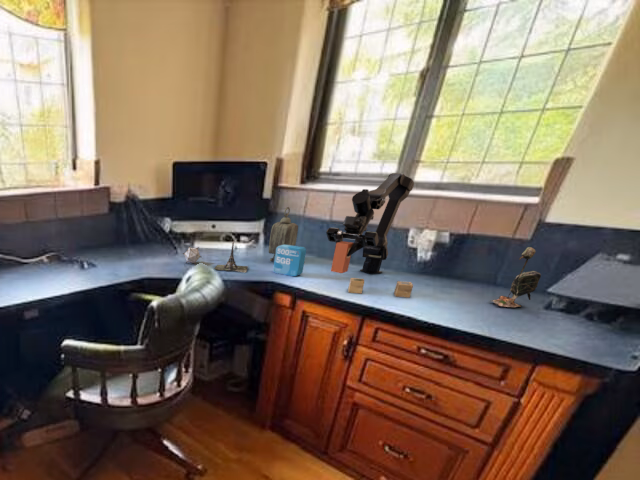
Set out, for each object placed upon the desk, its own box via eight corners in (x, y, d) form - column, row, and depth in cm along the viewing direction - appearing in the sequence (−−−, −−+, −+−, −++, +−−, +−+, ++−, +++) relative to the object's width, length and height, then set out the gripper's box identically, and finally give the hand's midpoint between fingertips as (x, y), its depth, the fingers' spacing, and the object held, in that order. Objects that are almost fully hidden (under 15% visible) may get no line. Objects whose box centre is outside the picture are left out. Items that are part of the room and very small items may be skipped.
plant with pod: (534, 310, 140) (563, 249, 131) (493, 307, 144) (519, 247, 134) (524, 303, 147) (550, 244, 137) (485, 300, 151) (508, 242, 141)
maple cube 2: (393, 293, 161) (397, 281, 158) (407, 294, 159) (411, 282, 157) (395, 296, 157) (398, 284, 155) (409, 297, 155) (413, 285, 153)
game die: (194, 270, 213) (208, 254, 209) (188, 267, 206) (201, 250, 202) (183, 259, 216) (195, 243, 212) (176, 256, 209) (189, 239, 204)
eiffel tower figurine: (248, 267, 201) (252, 238, 194) (245, 272, 193) (249, 242, 186) (217, 265, 206) (219, 237, 199) (213, 270, 197) (215, 240, 191)
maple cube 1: (347, 289, 166) (350, 277, 164) (360, 290, 165) (363, 278, 162) (348, 292, 163) (351, 280, 160) (361, 293, 161) (364, 281, 159)
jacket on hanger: (276, 256, 219) (283, 205, 207) (293, 258, 215) (302, 206, 202) (266, 262, 209) (273, 208, 197) (284, 264, 204) (293, 209, 192)
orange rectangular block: (336, 269, 170) (342, 241, 165) (347, 271, 167) (354, 242, 162) (330, 271, 168) (336, 242, 162) (342, 273, 164) (348, 244, 159)
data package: (272, 272, 192) (276, 245, 186) (277, 270, 194) (281, 243, 188) (297, 277, 184) (301, 249, 178) (302, 275, 186) (307, 247, 180)
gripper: (333, 205, 164) (313, 239, 164) (383, 209, 152) (362, 245, 151) (338, 224, 173) (320, 256, 172) (386, 229, 160) (366, 263, 159)
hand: (341, 255), depth 163 cm, fingers closed on orange rectangular block, 5 cm apart
